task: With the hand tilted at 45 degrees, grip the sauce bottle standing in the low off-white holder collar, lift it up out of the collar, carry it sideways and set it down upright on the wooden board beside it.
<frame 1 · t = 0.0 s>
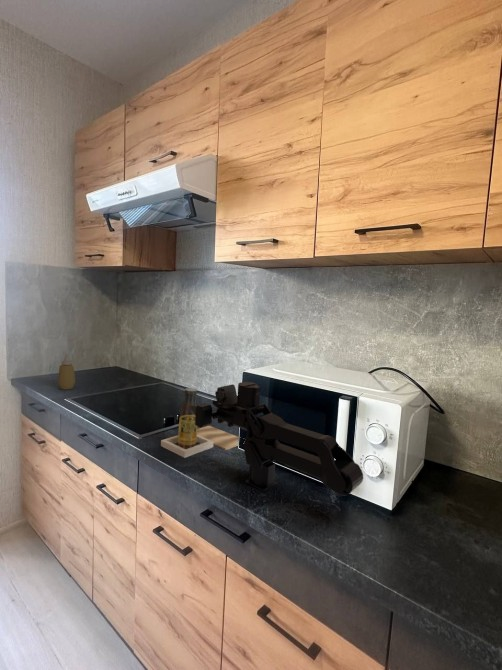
hand: (202, 404, 114), 17 cm above the worktop, tool horizontal, fingers open, 9 cm apart
squeeze bottle: (66, 388, 186), on the worktop
holder collar: (187, 446, 121), on the worktop
sauce bottle: (187, 447, 121), resting in holder collar
wooden board: (216, 437, 131), on the worktop
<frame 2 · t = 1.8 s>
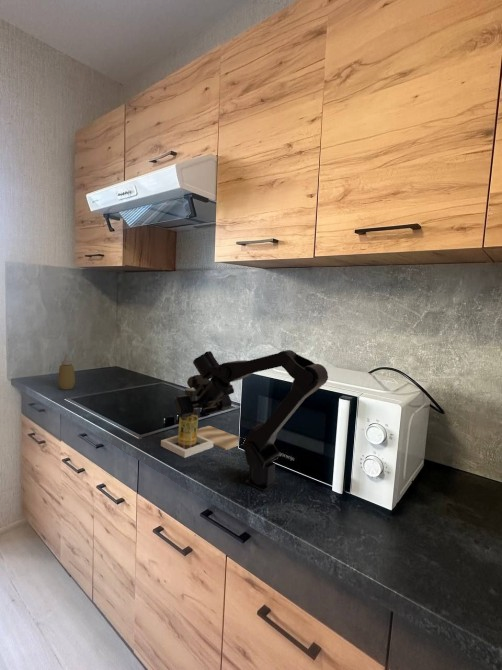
hand: (193, 415, 118), 12 cm above the worktop, tool tilted 45°, fingers open, 9 cm apart
nothing on the worktop moved.
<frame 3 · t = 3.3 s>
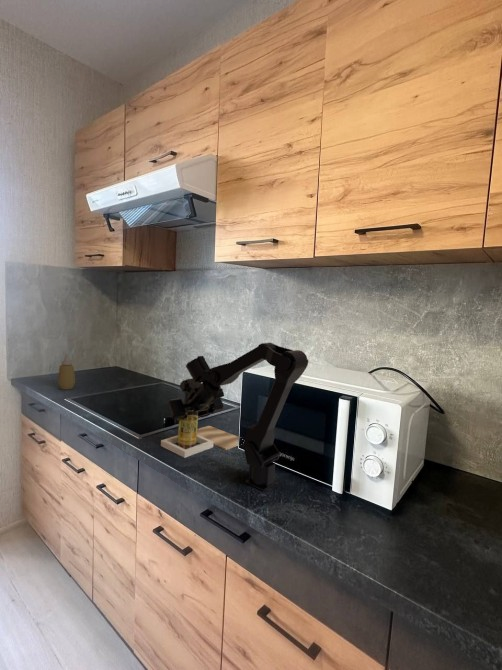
hand: (186, 417, 122), 10 cm above the worktop, tool tilted 45°, fingers closed on sauce bottle, 6 cm apart
sauce bottle: (187, 447, 121), resting in holder collar, touching gripper
everything else where it was.
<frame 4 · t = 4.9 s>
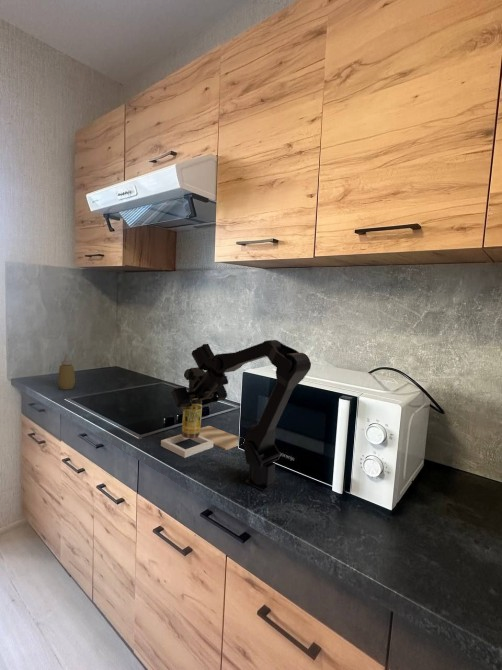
hand: (190, 407, 122), 13 cm above the worktop, tool tilted 45°, fingers closed on sauce bottle, 6 cm apart
sauce bottle: (191, 436, 122), point 3 cm above the worktop, touching gripper
everything else where it was.
when the fingers open (11 cm above the worktop, at t = 6.9 s): sauce bottle stays where it is, resting on wooden board.
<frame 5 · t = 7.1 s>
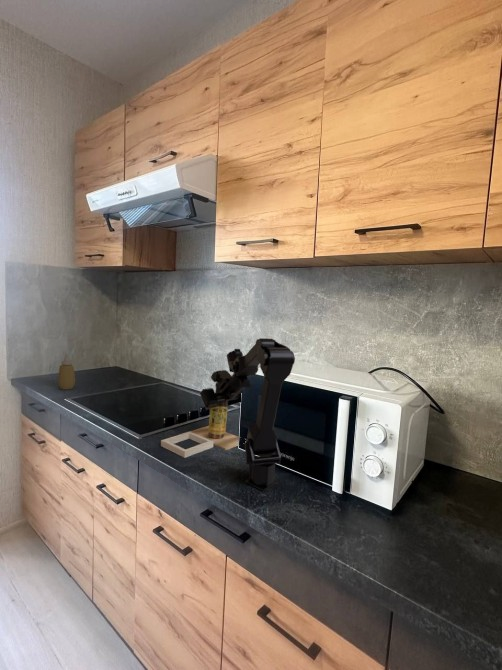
hand: (216, 407, 131), 11 cm above the worktop, tool tilted 45°, fingers open, 8 cm apart
sauce bottle: (216, 436, 130), resting on wooden board
everything else where it was.
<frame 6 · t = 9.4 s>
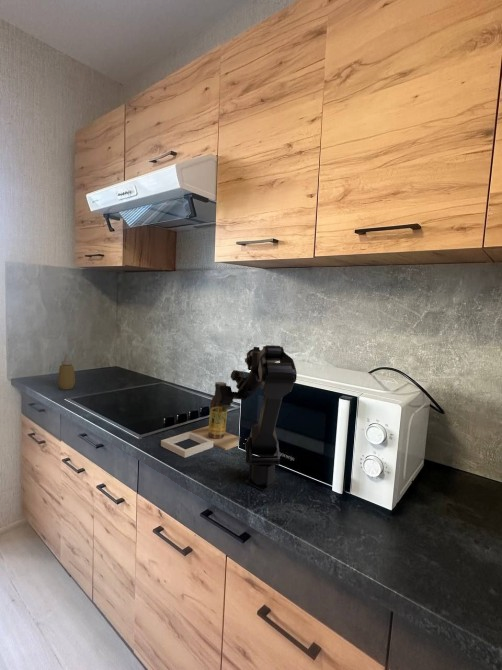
hand: (234, 410, 125), 12 cm above the worktop, tool tilted 40°, fingers open, 9 cm apart
nothing on the worktop moved.
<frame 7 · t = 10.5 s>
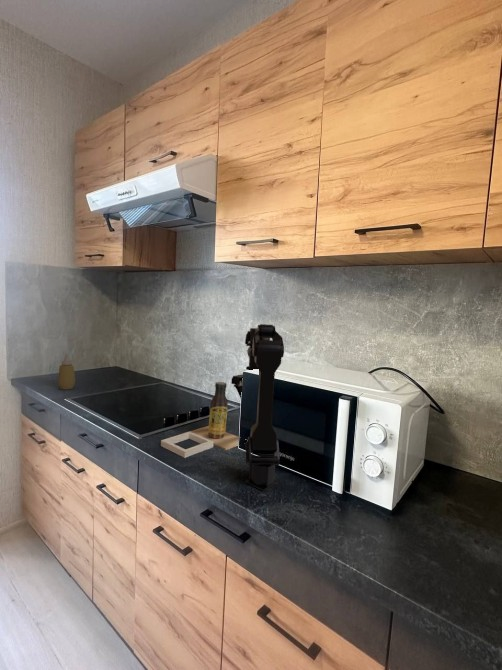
hand: (254, 407, 126), 13 cm above the worktop, tool pointing down, fingers open, 9 cm apart
nothing on the worktop moved.
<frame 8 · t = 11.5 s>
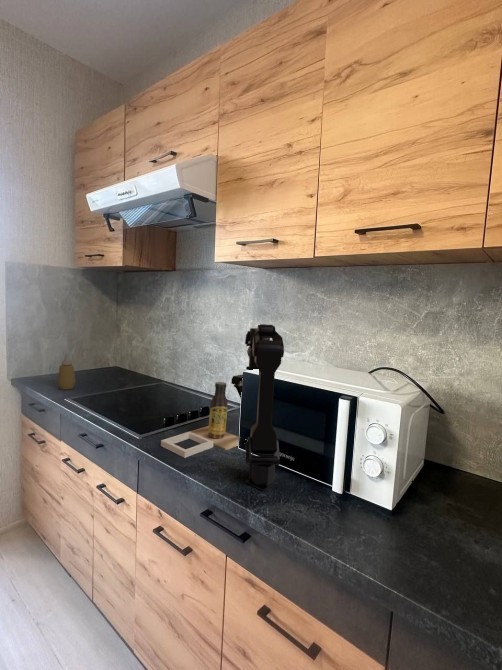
hand: (254, 407, 126), 13 cm above the worktop, tool pointing down, fingers open, 9 cm apart
nothing on the worktop moved.
at the end: sauce bottle inside the target area on the wooden board (0.2 cm from its centre), point 0.4 cm above the wooden board's base; sauce bottle tilted 0°; the gripper is holding nothing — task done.
